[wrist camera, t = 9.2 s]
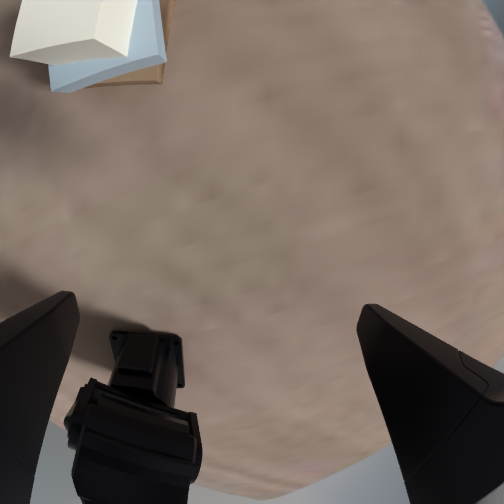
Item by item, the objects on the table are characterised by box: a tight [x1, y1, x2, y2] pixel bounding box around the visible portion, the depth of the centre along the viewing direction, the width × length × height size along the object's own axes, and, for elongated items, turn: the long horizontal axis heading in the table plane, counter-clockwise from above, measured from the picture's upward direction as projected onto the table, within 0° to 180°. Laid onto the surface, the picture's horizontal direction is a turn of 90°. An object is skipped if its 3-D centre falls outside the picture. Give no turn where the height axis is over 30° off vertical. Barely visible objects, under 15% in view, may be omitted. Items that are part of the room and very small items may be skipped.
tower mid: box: [48, 0, 167, 93], centre depth 12 cm, size 6×6×2 cm
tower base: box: [84, 0, 175, 88], centre depth 14 cm, size 7×7×2 cm
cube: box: [10, 0, 138, 66], centre depth 9 cm, size 4×4×4 cm
